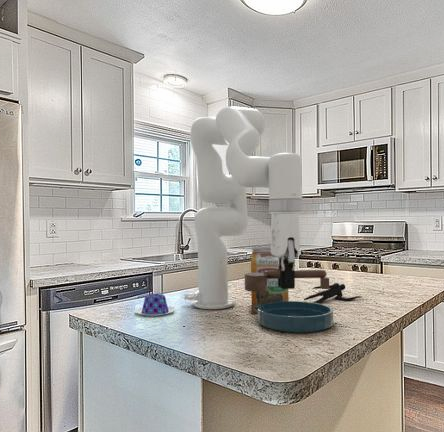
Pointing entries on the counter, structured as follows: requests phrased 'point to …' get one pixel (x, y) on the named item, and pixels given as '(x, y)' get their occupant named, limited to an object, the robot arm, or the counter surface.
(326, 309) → the bowl
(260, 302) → the milk carton
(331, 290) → the dark humanoid figurine
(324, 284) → the ladle
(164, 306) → the pudding
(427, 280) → the counter surface
